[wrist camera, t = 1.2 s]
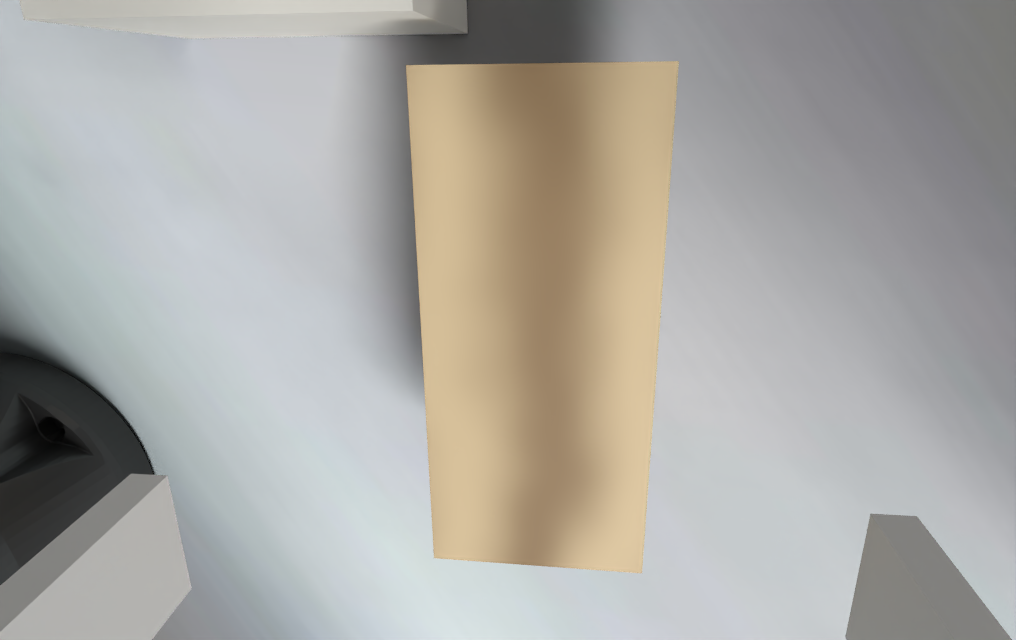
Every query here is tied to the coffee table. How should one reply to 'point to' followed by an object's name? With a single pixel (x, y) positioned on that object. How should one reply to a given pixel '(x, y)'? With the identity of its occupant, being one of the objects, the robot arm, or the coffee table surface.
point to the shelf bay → (256, 17)
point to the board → (541, 303)
